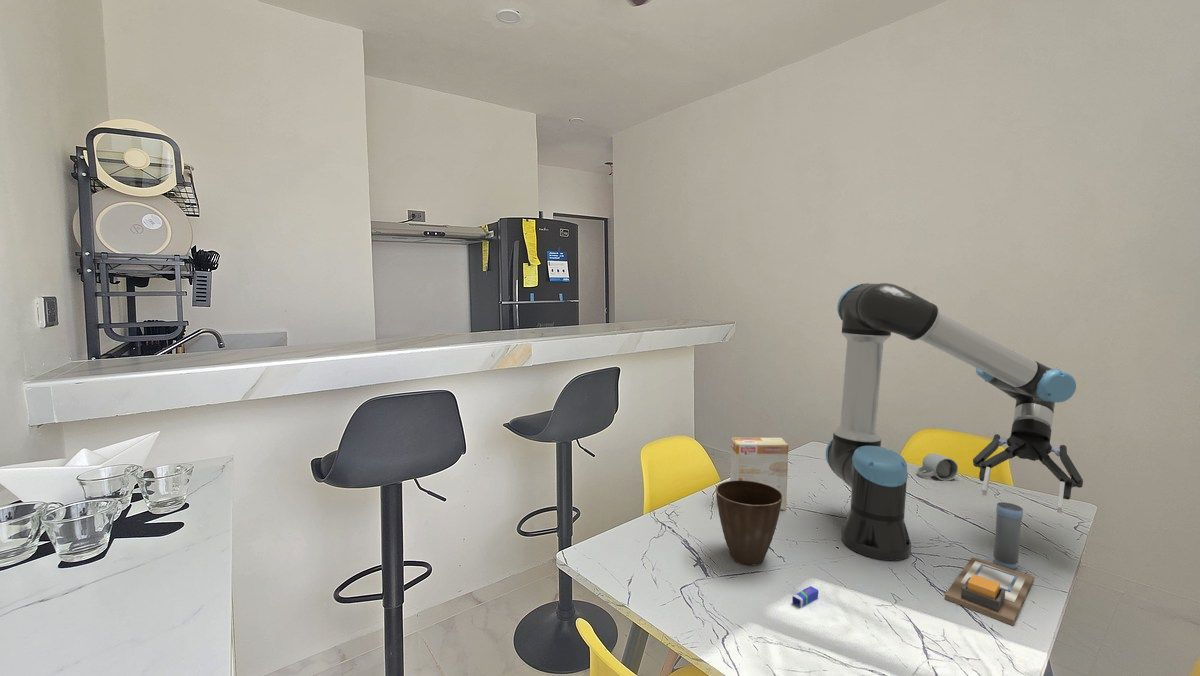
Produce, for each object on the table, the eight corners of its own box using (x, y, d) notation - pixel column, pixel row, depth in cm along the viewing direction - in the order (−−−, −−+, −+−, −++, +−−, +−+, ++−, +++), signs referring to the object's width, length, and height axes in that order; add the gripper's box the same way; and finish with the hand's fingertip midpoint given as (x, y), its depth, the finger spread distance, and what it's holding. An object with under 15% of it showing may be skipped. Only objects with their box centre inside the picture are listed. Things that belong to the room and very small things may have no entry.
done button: (994, 601, 98) (995, 591, 98) (967, 591, 101) (967, 582, 101) (999, 592, 101) (1000, 583, 101) (972, 583, 104) (973, 574, 104)
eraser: (791, 604, 101) (792, 594, 101) (810, 594, 105) (810, 585, 104) (800, 609, 100) (800, 599, 100) (818, 599, 103) (819, 590, 103)
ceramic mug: (940, 472, 175) (941, 450, 174) (957, 481, 167) (959, 458, 166) (910, 472, 175) (911, 451, 174) (926, 481, 167) (927, 459, 166)
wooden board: (1013, 625, 95) (1014, 610, 94) (944, 598, 103) (945, 585, 103) (1033, 581, 109) (1034, 567, 109) (971, 560, 117) (972, 548, 117)
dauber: (1004, 571, 113) (1009, 511, 112) (987, 560, 118) (991, 502, 116) (1023, 570, 114) (1028, 510, 112) (1005, 559, 118) (1010, 502, 117)
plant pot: (702, 547, 123) (703, 484, 122) (752, 537, 128) (754, 476, 127) (739, 580, 109) (741, 509, 108) (794, 567, 115) (796, 499, 113)
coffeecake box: (779, 500, 151) (781, 437, 149) (786, 510, 144) (789, 444, 142) (728, 499, 152) (730, 436, 150) (734, 509, 145) (736, 443, 143)
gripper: (1100, 444, 120) (1093, 525, 111) (972, 424, 138) (957, 493, 129) (1102, 427, 116) (1095, 510, 107) (970, 409, 133) (954, 479, 124)
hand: (1020, 501), depth 118 cm, fingers open, 13 cm apart
